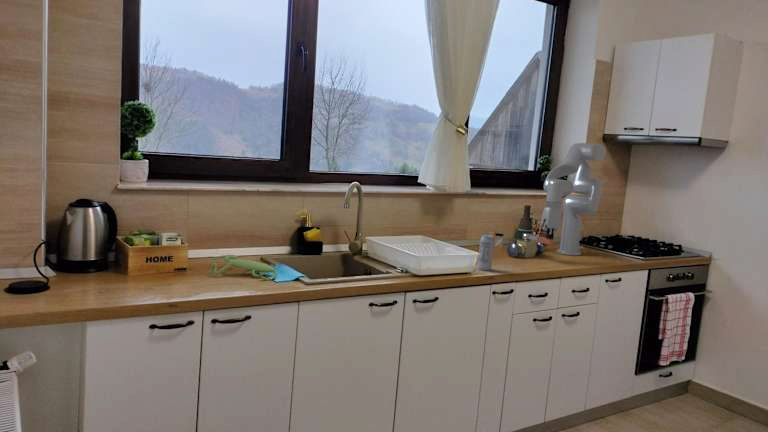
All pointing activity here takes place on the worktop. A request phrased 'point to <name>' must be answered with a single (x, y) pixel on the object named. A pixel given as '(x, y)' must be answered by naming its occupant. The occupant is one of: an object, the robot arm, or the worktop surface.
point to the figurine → (245, 266)
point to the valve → (525, 248)
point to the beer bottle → (525, 223)
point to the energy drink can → (485, 252)
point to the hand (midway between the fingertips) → (549, 241)
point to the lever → (538, 238)
